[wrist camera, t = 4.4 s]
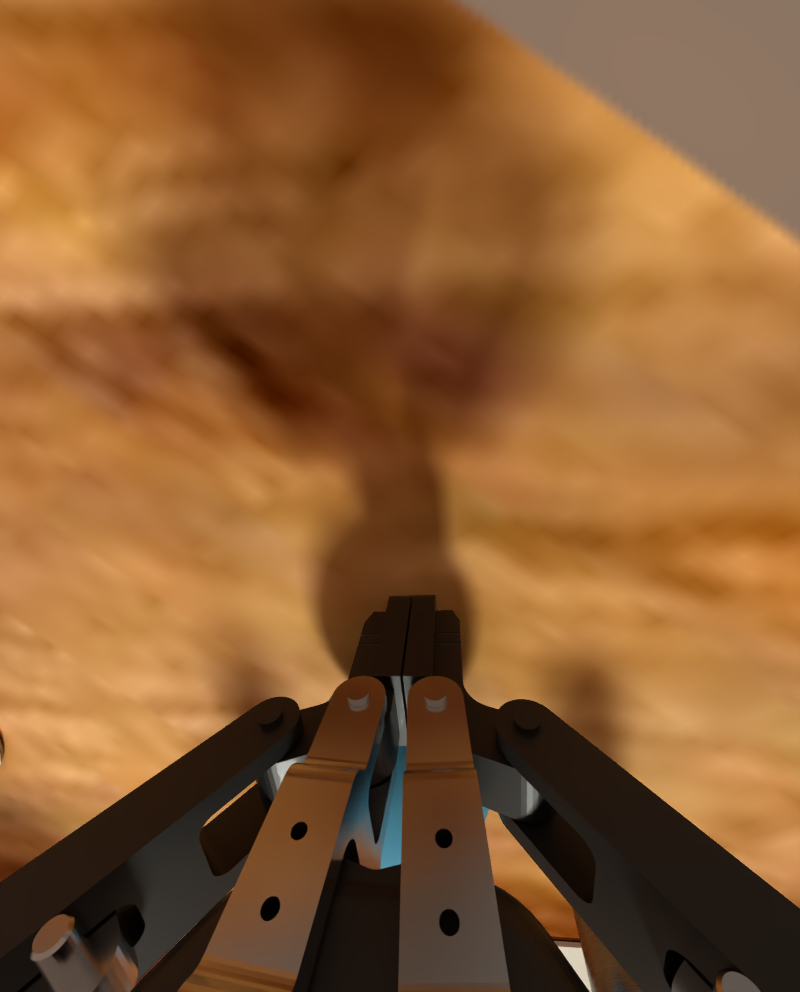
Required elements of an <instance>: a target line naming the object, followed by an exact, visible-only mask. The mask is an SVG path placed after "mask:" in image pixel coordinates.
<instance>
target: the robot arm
mask: <svg viewBox="0 0 800 992" xmlns="http://www.w3.org/2000/svg"><path fill="white" fill-rule="evenodd" d="M398 746H407V754H406V771H404V774H403V799H402V843H401V864H399V865H395V866H391V867H387V868H383V869H381V856H382V850H383V844H384V839H385V834H386V828H387V823H388V818H389V813H390V807H391V802H392V797H393V792H394V786H395V781H396V775H397V771H396V762H397V755H398ZM255 780H256V782H257V784H255V785H254V786H253V787H252V788H251V789H249V790H248V791H247V792H246V793H245V794H243V795H242V796H241V797H240V798H239V799H237V800H236V801H235V802H234V803H233V804H231V805H230V806H229V807H228V808H226V809H225V810H224V811H223V812H222V813H220V814H219V815H218V816H217V817H216V818H214V819H213V820H212V821H211V822H210V823H208V824H207V825H206V826H204V824H205V823H206V821H207V820H208V819H209V818H210V817H211V816H212V815H213V814H215V813H216V812H217V811H218V810H219V809H221V808H222V807H223V806H224V805H226V804H227V803H228V802H229V801H230V800H232V799H233V798H234V797H235V796H237V795H238V794H239V793H240V792H241V791H243V790H244V789H245V788H246V787H247V786H249V785H250V784H251V783H252V782H254V781H255ZM482 806H483V807H486V808H488V809H491V810H493V811H496V812H498V813H499V816H500V818H501V820H502V822H503V824H504V825H505V826H506V828H507V829H508V830H509V831H510V833H511V834H512V835H513V836H514V837H515V839H516V840H517V841H518V842H519V843H520V845H521V846H522V847H523V848H524V850H525V851H526V852H527V853H528V854H529V856H530V857H531V858H532V859H533V860H534V862H535V863H536V864H537V865H538V866H539V868H540V869H541V870H542V871H543V872H544V874H545V875H546V876H547V877H548V878H549V880H550V881H551V882H552V883H553V884H554V886H555V887H556V888H557V889H558V890H559V892H560V893H561V894H562V895H563V896H564V898H565V899H566V900H567V901H568V902H569V904H570V905H571V906H572V907H573V909H574V910H575V911H576V912H577V913H578V915H579V916H580V917H581V918H582V919H583V921H584V922H585V923H586V924H587V925H588V927H589V928H590V929H591V930H592V931H593V933H594V934H595V935H596V936H597V937H598V939H599V940H600V941H601V942H602V943H603V945H604V946H605V947H606V948H607V949H608V951H609V952H610V953H611V954H612V955H613V957H614V958H615V959H616V960H617V962H618V963H619V964H620V965H621V966H622V968H623V969H624V970H625V971H626V972H627V974H628V975H629V976H630V977H631V978H632V980H633V981H634V982H635V983H636V984H637V986H638V987H639V988H640V989H641V990H642V992H800V909H799V908H798V907H797V906H796V905H794V904H793V903H792V902H791V901H789V900H788V899H787V898H786V897H784V896H783V895H782V894H781V893H779V892H778V891H777V890H776V889H774V888H773V887H772V886H771V885H769V884H768V883H767V882H765V881H764V880H763V879H762V878H760V877H759V876H758V875H757V874H755V873H754V872H753V871H752V870H750V869H749V868H748V867H747V866H745V865H744V864H743V863H742V862H740V861H739V860H738V859H737V858H735V857H734V856H733V855H731V854H730V853H729V852H728V851H726V850H725V849H724V848H723V847H721V846H720V845H719V844H718V843H716V842H715V841H714V840H713V839H711V838H710V837H709V836H708V835H706V834H705V833H704V832H702V831H701V830H700V829H699V828H697V827H696V826H695V825H694V824H692V823H691V822H690V821H689V820H687V819H686V818H685V817H684V816H682V815H681V814H680V813H679V812H677V811H676V810H675V809H674V808H672V807H671V806H670V805H668V804H667V803H666V802H665V801H663V800H662V799H661V798H660V797H658V796H657V795H656V794H655V793H653V792H652V791H651V790H650V789H648V788H647V787H646V786H645V785H643V784H642V783H641V782H639V781H638V780H637V779H636V778H634V777H633V776H632V775H631V774H629V773H628V772H627V771H626V770H624V769H623V768H622V767H621V766H619V765H618V764H617V763H616V762H614V761H613V760H612V759H611V758H609V757H608V756H607V755H605V754H604V753H603V752H602V751H600V750H599V749H598V748H597V747H595V746H594V745H593V744H592V743H590V742H589V741H588V740H587V739H585V738H584V737H583V736H582V735H580V734H579V733H578V732H577V731H575V730H574V729H573V728H571V727H570V726H569V725H568V724H566V723H565V722H564V721H563V720H561V719H560V718H559V717H558V716H556V715H555V714H554V713H553V712H551V711H550V710H549V709H548V708H546V707H545V706H543V705H541V704H539V703H537V702H534V701H531V700H525V699H517V700H512V701H509V702H507V703H505V704H504V705H502V706H501V707H500V708H499V710H498V709H495V708H492V707H488V706H485V705H483V704H481V703H479V702H477V701H476V700H474V699H473V698H472V697H471V696H470V695H469V694H468V693H467V691H466V690H465V688H464V685H463V673H462V655H461V638H460V621H459V619H458V618H457V616H456V615H455V613H454V612H453V611H452V610H441V611H437V603H436V595H414V596H413V597H412V596H390V597H389V601H388V605H387V610H386V612H374V613H373V614H372V615H371V616H370V617H369V618H368V619H367V620H366V622H365V624H364V627H363V630H362V636H361V637H360V641H359V646H358V647H357V651H356V654H355V658H354V661H353V664H352V668H351V671H350V675H349V678H348V680H346V681H344V682H343V683H342V684H340V685H339V686H338V687H337V688H336V690H335V691H334V693H333V695H332V697H331V700H330V701H328V702H326V703H323V704H320V705H317V706H313V707H310V708H306V709H302V710H299V706H298V704H297V703H296V702H295V701H294V700H293V699H290V698H287V697H274V698H270V699H268V700H265V701H263V702H261V703H260V704H258V705H256V706H255V707H253V708H252V709H251V710H249V711H248V712H246V713H245V714H243V715H242V716H240V717H239V718H238V719H236V720H235V721H233V722H232V723H230V724H229V725H227V726H226V727H225V728H223V729H222V730H220V731H219V732H217V733H216V734H214V735H213V736H211V737H210V738H209V739H207V740H206V741H204V742H203V743H201V744H200V745H198V746H197V747H196V748H194V749H193V750H191V751H190V752H188V753H187V754H185V755H184V756H183V757H181V758H180V759H178V760H177V761H175V762H174V763H172V764H171V765H169V766H168V767H167V768H165V769H164V770H162V771H161V772H159V773H158V774H156V775H155V776H154V777H152V778H151V779H149V780H148V781H146V782H145V783H143V784H142V785H141V786H139V787H138V788H136V789H135V790H133V791H132V792H130V793H129V794H128V795H126V796H125V797H123V798H122V799H120V800H119V801H117V802H116V803H114V804H113V805H112V806H110V807H109V808H107V809H106V810H104V811H103V812H101V813H100V814H99V815H97V816H96V817H94V818H93V819H91V820H90V821H88V822H87V823H86V824H84V825H83V826H81V827H80V828H78V829H77V830H75V831H74V832H72V833H71V834H70V835H68V836H67V837H65V838H64V839H62V840H61V841H59V842H58V843H57V844H55V845H54V846H52V847H51V848H49V849H48V850H46V851H45V852H44V853H42V854H41V855H39V856H38V857H36V858H35V859H33V860H32V861H31V862H29V863H28V864H26V865H25V866H23V867H22V868H20V869H19V870H17V871H16V872H15V873H13V874H12V875H10V876H9V877H7V878H6V879H4V880H3V881H2V882H0V992H590V991H589V990H588V988H587V987H586V986H585V984H584V983H583V981H582V980H581V979H580V977H579V976H578V974H577V973H576V972H575V970H574V969H573V967H572V966H571V964H570V963H569V962H568V960H567V959H566V957H565V956H564V955H563V953H562V952H561V950H560V949H559V947H558V946H557V945H556V943H555V942H554V940H553V939H552V938H551V936H550V935H549V934H548V932H547V931H546V930H545V928H544V927H543V926H542V924H541V923H540V922H539V921H538V920H537V919H536V917H535V916H534V915H533V914H532V913H531V912H530V911H529V910H528V909H527V908H526V907H525V906H524V905H523V904H522V903H520V902H519V901H518V900H517V899H516V898H514V897H513V896H512V895H510V894H509V893H508V892H506V891H505V890H503V889H501V888H499V887H497V886H496V885H494V880H493V874H492V867H491V861H490V854H489V848H488V841H487V835H486V828H485V822H484V815H483V809H482ZM203 826H204V827H203ZM202 827H203V828H202ZM233 888H234V889H233ZM232 889H233V890H232ZM230 890H232V891H230ZM229 891H230V892H229ZM228 892H229V893H228ZM227 893H228V894H227ZM226 894H227V895H226ZM225 895H226V896H225ZM197 922H198V923H197ZM196 923H197V924H196ZM195 924H196V925H195ZM194 925H195V926H194ZM193 926H194V927H193ZM192 927H193V928H192ZM191 928H192V929H191ZM190 929H191V930H190ZM189 930H190V931H189ZM188 931H189V932H188ZM187 932H188V933H187ZM186 933H187V934H186ZM185 934H186V935H185ZM184 935H185V936H184ZM183 936H184V937H183ZM182 937H183V938H182ZM181 938H182V939H181ZM180 939H181V940H180ZM179 940H180V941H179ZM178 941H179V942H178ZM177 942H178V943H177ZM176 943H177V944H176ZM175 944H176V945H175ZM174 945H175V946H174ZM173 946H174V947H173ZM172 947H173V948H172ZM171 948H172V949H171ZM170 949H171V950H170ZM169 950H170V951H169ZM168 951H169V952H168ZM167 952H168V953H167ZM166 953H167V954H166ZM165 954H166V955H165ZM163 955H165V956H164V957H163V958H162V959H161V961H160V962H159V963H158V964H157V965H156V966H155V967H154V968H153V969H152V970H151V971H150V972H149V973H148V974H147V975H146V976H145V977H144V978H143V979H142V980H141V981H140V982H139V983H138V984H137V985H136V986H135V984H136V982H137V981H138V980H139V979H140V978H141V977H142V976H143V975H144V974H145V973H146V972H147V971H148V970H149V969H150V968H151V967H152V966H153V965H154V964H155V963H156V962H157V961H158V960H159V959H160V958H161V957H162V956H163Z"/></svg>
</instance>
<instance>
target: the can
mask: <svg viewBox="0 0 800 992" xmlns="http://www.w3.org/2000/svg"><path fill="white" fill-rule="evenodd" d="M2 759H3V744H2V741H1V738H0V765H1V761H2Z"/></svg>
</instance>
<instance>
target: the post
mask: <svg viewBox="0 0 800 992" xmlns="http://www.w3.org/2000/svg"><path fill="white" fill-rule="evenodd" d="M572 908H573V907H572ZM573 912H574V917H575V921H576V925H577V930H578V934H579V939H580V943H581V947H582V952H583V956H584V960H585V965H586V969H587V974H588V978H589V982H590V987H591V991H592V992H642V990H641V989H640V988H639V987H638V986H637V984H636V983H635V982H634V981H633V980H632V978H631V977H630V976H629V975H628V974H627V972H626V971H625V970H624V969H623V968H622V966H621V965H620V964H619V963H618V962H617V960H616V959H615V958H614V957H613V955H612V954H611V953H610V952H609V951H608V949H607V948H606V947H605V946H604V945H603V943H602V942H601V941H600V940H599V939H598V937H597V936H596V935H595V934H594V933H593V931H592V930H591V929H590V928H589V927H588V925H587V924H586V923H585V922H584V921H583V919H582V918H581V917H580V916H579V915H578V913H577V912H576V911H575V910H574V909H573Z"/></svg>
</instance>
